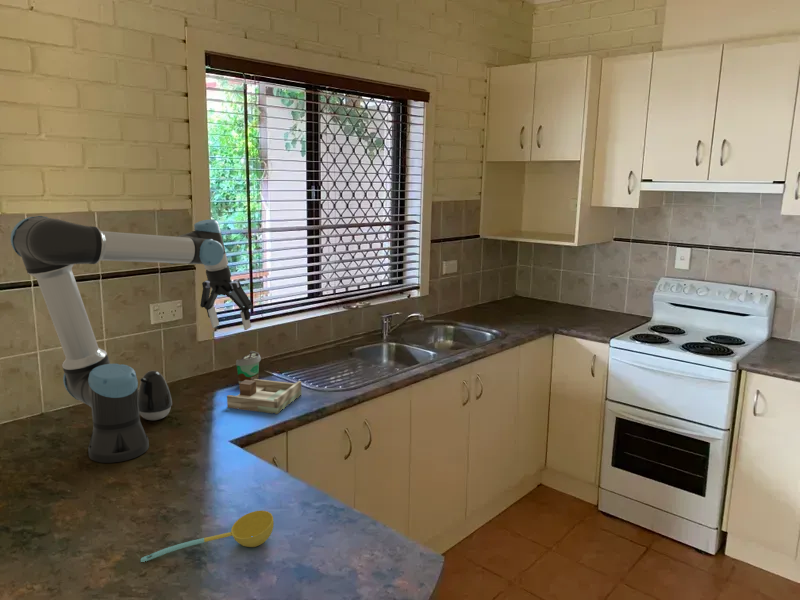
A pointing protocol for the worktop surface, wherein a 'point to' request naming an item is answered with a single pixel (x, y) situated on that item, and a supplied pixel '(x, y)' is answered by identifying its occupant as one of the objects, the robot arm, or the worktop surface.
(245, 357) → the food container
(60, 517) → the worktop surface
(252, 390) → the walnut block
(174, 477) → the worktop surface
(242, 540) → the ladle
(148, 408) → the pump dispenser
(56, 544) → the worktop surface
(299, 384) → the box
